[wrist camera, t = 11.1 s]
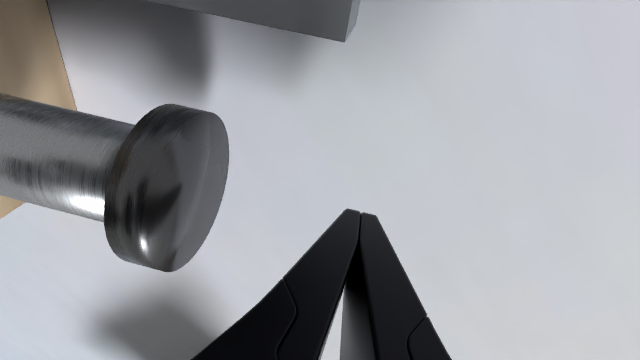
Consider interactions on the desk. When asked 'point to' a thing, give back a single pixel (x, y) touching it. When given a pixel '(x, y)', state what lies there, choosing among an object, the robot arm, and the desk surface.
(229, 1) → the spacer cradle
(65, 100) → the bearing block
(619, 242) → the desk surface
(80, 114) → the shaft
